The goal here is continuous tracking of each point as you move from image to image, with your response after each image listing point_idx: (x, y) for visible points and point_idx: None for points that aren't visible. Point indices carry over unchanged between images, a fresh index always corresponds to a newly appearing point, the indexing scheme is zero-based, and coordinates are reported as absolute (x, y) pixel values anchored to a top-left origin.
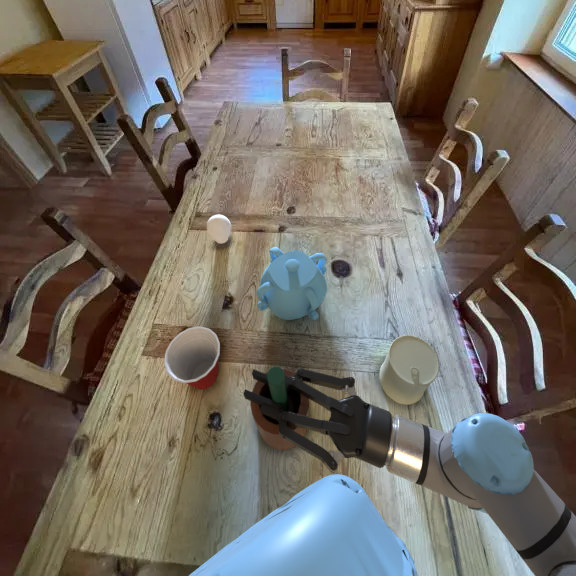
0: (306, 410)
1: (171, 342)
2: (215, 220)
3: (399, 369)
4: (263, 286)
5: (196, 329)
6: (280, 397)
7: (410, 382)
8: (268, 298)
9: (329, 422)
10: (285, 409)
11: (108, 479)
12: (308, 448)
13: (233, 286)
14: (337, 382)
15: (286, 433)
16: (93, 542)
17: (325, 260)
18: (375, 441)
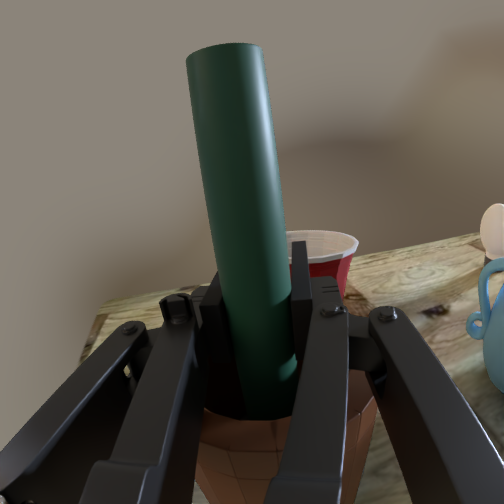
0: (251, 447)
1: (306, 230)
2: (496, 205)
3: None
4: (500, 258)
5: (345, 237)
6: (215, 238)
7: None
8: (495, 306)
9: (129, 501)
10: (255, 411)
11: (158, 313)
12: (43, 409)
13: (462, 304)
14: (475, 486)
15: (114, 342)
16: (108, 324)
17: None
18: None
